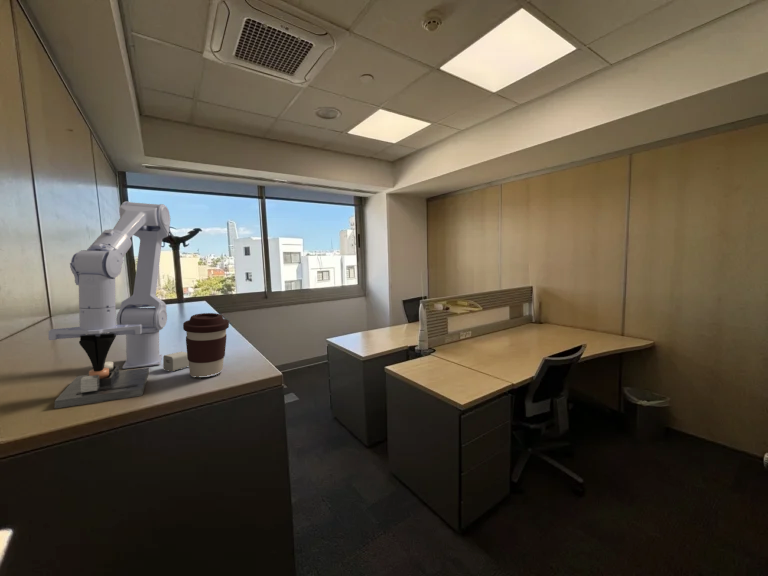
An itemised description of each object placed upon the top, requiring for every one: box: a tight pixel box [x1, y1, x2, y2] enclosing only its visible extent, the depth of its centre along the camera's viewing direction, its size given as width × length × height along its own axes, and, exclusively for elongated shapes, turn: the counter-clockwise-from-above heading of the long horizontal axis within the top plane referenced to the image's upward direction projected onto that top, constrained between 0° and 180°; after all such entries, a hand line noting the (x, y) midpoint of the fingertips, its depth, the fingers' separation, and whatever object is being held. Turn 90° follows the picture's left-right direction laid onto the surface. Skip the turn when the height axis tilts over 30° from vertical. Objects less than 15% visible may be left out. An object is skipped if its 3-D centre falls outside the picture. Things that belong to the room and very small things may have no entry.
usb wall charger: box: [162, 351, 189, 372], centre depth 83 cm, size 4×7×4 cm, turn 156°
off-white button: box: [104, 361, 114, 371], centre depth 71 cm, size 3×3×2 cm
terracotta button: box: [88, 368, 109, 379], centre depth 67 cm, size 3×3×2 cm
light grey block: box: [81, 375, 99, 393], centre depth 62 cm, size 2×2×3 cm
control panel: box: [54, 365, 150, 410], centre depth 68 cm, size 15×13×3 cm
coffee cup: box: [182, 312, 230, 377], centre depth 78 cm, size 10×10×15 cm
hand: (99, 369), depth 67 cm, fingers closed
